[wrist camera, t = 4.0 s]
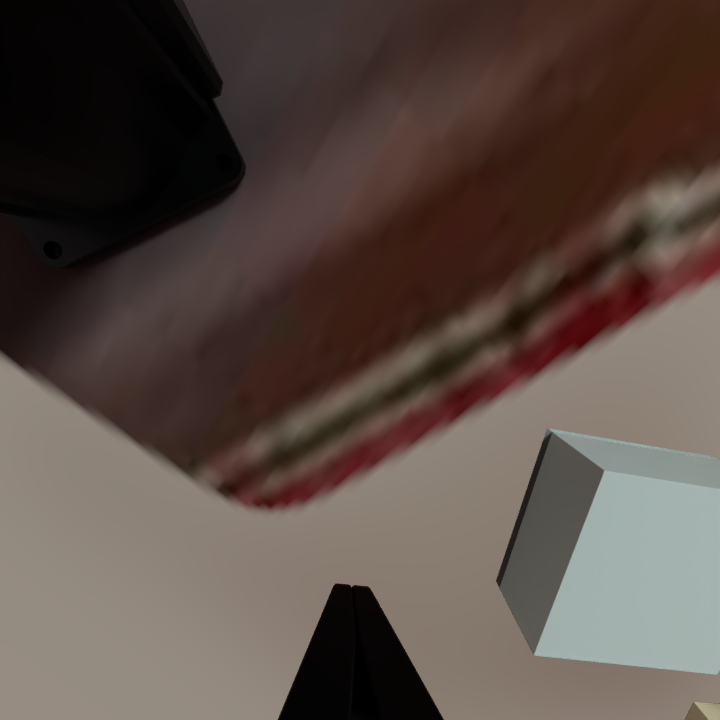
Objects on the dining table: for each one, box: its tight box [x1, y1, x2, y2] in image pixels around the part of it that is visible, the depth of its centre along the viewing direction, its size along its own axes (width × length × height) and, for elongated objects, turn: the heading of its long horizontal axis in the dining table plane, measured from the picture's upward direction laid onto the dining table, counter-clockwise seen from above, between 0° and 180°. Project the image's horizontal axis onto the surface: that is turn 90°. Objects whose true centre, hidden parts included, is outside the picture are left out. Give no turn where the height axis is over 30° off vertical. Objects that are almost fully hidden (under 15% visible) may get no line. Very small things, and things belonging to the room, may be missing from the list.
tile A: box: [496, 428, 720, 674], centre depth 13 cm, size 7×7×3 cm
